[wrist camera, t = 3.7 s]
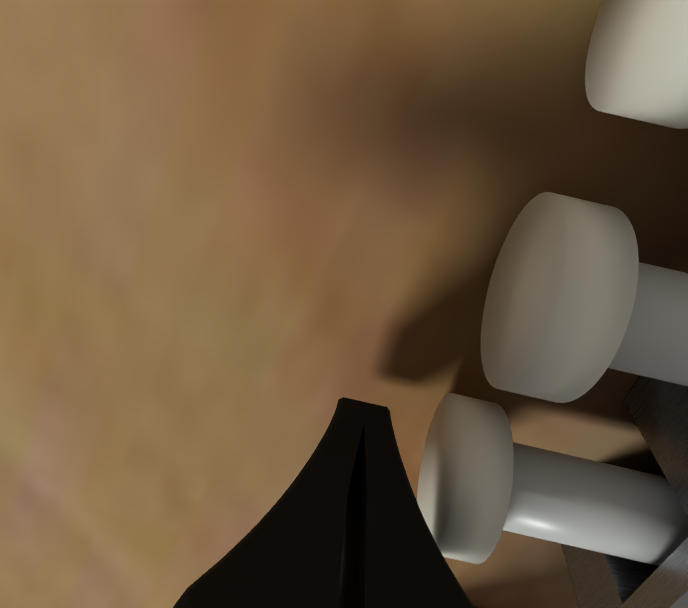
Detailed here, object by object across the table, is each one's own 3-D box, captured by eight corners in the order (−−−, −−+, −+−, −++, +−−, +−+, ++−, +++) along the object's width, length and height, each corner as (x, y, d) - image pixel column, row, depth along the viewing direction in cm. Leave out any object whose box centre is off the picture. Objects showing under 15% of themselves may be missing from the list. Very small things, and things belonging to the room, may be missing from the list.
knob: (666, 517, 15) (740, 660, 12) (416, 459, 15) (417, 585, 12) (745, 429, 13) (862, 573, 10) (454, 363, 13) (469, 483, 10)
